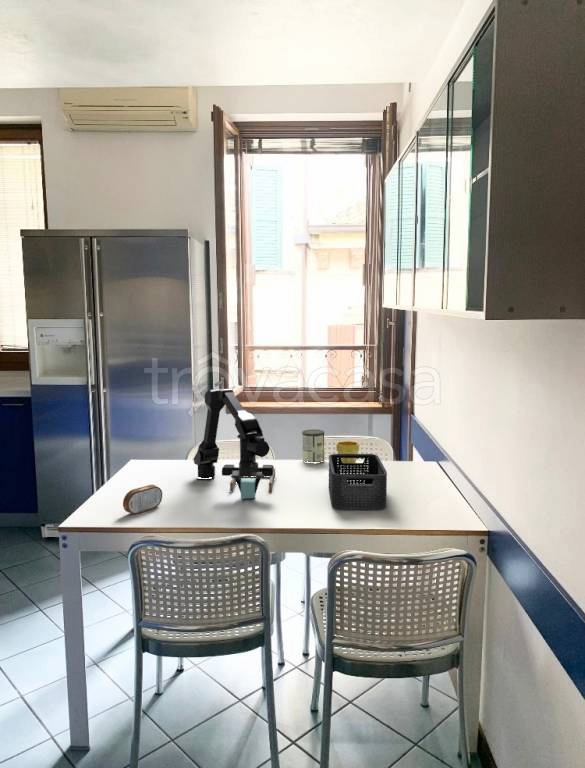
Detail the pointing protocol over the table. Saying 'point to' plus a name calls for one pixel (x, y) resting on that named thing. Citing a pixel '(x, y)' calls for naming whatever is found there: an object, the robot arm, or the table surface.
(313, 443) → the coffee can
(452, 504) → the table surface
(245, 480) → the teal block
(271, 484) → the wooden u-shaped frame
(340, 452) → the plant pot
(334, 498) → the storage bin
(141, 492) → the tin
